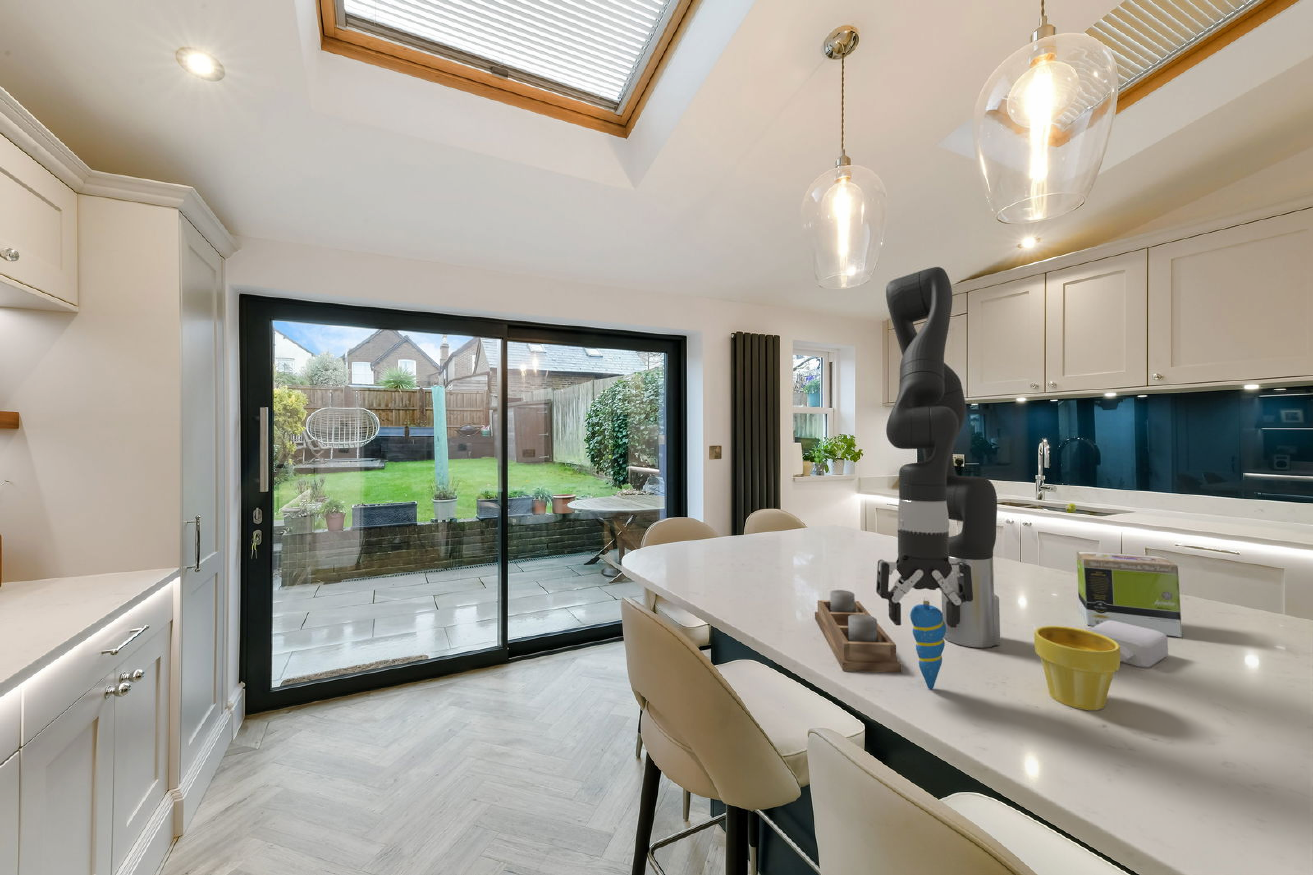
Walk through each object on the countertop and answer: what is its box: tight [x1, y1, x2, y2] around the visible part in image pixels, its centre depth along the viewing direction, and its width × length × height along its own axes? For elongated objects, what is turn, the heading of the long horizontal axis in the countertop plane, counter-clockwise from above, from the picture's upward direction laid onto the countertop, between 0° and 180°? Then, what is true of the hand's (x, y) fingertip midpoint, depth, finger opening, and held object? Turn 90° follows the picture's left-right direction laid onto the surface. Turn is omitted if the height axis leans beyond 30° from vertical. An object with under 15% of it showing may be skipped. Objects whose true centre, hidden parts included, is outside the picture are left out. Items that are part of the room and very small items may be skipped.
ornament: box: [909, 597, 946, 690], centre depth 84 cm, size 5×5×15 cm
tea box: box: [1076, 550, 1183, 638], centre depth 110 cm, size 15×10×15 cm, turn 58°
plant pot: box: [1033, 625, 1121, 711], centre depth 80 cm, size 10×10×10 cm
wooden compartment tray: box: [814, 589, 903, 674], centre depth 104 cm, size 10×27×8 cm, turn 173°
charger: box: [1086, 620, 1169, 669], centre depth 94 cm, size 5×9×15 cm
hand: (923, 625), depth 84 cm, fingers open, 8 cm apart
